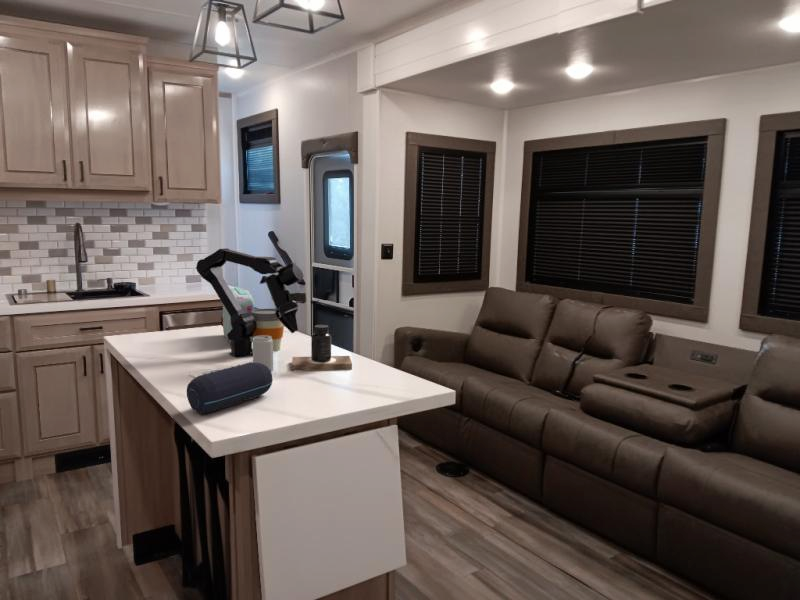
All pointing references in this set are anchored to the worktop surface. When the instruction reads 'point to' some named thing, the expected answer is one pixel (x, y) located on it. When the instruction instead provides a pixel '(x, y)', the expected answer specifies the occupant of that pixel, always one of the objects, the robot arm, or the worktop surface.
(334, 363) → the walnut plinth
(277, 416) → the worktop surface
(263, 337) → the beverage can
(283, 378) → the worktop surface
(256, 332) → the reusable coffee cup
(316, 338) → the supplement bottle
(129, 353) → the worktop surface
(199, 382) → the portable speaker
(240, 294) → the lunch box
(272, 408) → the worktop surface
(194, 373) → the photo frame
